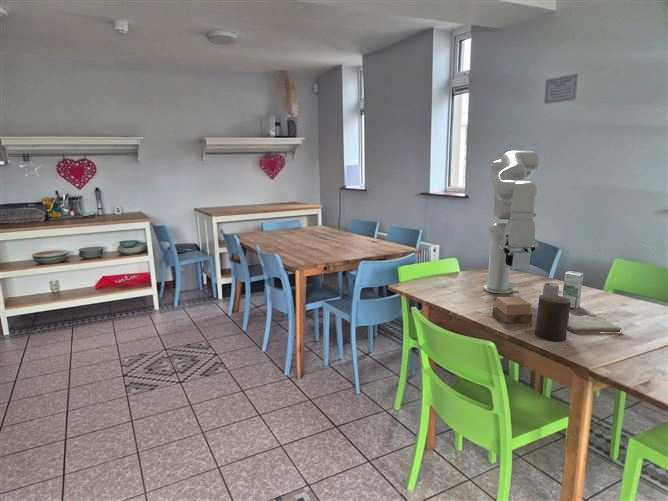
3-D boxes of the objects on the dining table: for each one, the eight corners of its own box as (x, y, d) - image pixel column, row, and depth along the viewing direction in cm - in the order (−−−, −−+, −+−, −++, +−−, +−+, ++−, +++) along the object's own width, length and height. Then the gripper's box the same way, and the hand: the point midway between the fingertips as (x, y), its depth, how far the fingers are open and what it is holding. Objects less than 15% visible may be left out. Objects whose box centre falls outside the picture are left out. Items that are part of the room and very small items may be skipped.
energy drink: (543, 310, 172) (546, 281, 170) (557, 313, 168) (561, 284, 166) (538, 313, 169) (541, 284, 166) (553, 317, 165) (556, 287, 162)
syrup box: (579, 306, 178) (584, 272, 175) (576, 309, 174) (580, 275, 171) (564, 303, 182) (568, 270, 179) (560, 306, 177) (564, 272, 174)
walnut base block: (516, 315, 168) (517, 305, 167) (531, 324, 158) (532, 314, 157) (492, 316, 166) (493, 306, 165) (506, 325, 157) (507, 315, 156)
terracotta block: (517, 306, 166) (518, 296, 165) (529, 314, 157) (530, 304, 156) (495, 306, 165) (496, 297, 164) (506, 314, 156) (507, 304, 156)
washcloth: (623, 334, 149) (624, 326, 149) (573, 335, 148) (574, 326, 148) (601, 322, 161) (602, 314, 160) (554, 322, 160) (555, 315, 159)
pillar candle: (552, 344, 140) (557, 300, 137) (528, 333, 148) (533, 291, 146) (572, 339, 144) (578, 297, 141) (548, 329, 152) (553, 289, 149)
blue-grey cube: (519, 265, 161) (521, 249, 160) (529, 269, 155) (530, 252, 154) (504, 265, 160) (506, 250, 159) (513, 269, 155) (515, 253, 153)
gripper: (537, 215, 159) (532, 262, 163) (494, 215, 157) (490, 263, 160) (550, 217, 152) (544, 266, 155) (505, 218, 149) (500, 268, 153)
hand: (517, 264), depth 158 cm, fingers closed on blue-grey cube, 6 cm apart
